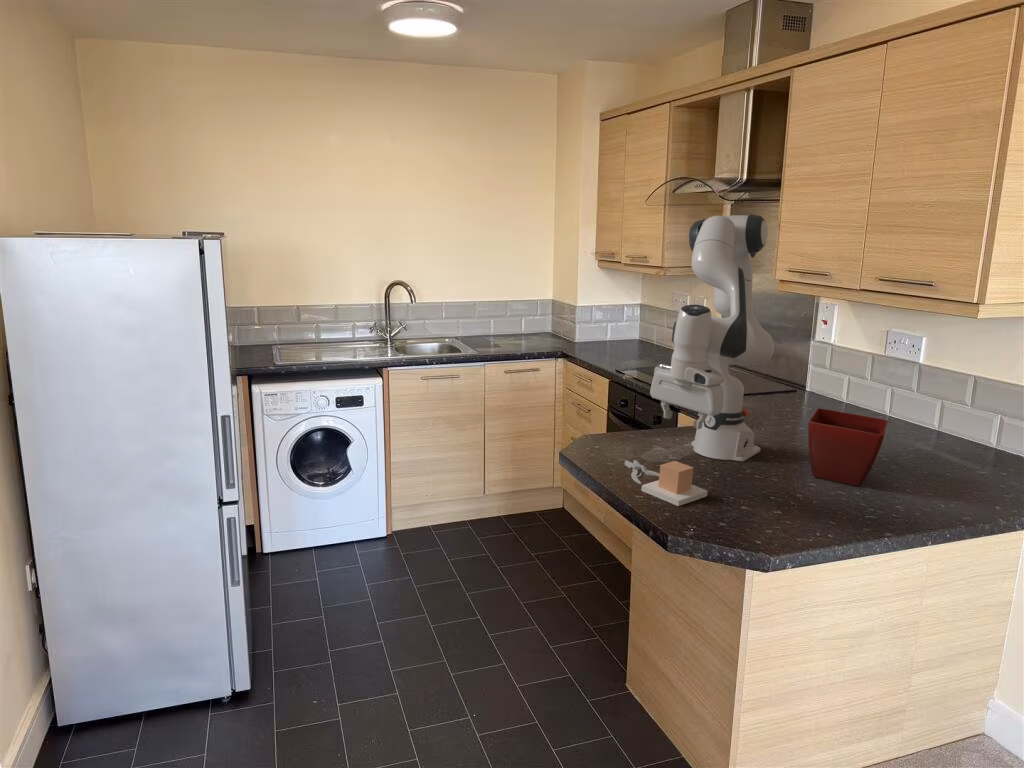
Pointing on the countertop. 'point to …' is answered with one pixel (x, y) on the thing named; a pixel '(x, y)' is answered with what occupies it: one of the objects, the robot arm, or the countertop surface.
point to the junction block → (672, 497)
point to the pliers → (637, 466)
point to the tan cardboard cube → (675, 477)
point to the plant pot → (844, 445)
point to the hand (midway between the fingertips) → (682, 423)
